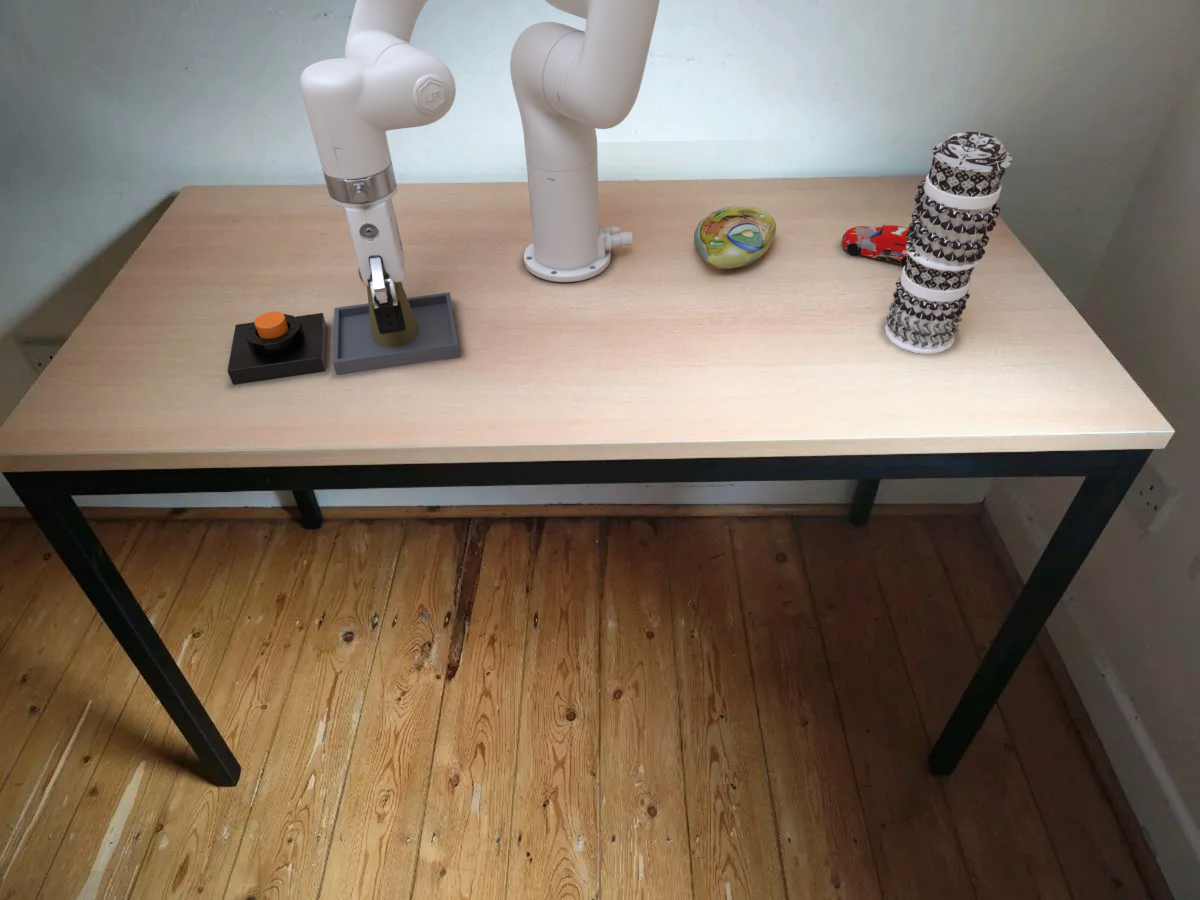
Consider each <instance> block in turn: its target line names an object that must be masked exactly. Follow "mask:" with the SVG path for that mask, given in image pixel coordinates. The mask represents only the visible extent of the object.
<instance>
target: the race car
mask: <svg viewBox="0 0 1200 900" xmlns="http://www.w3.org/2000/svg"><path fill="white" fill-rule="evenodd" d="M910 232H911V231H910V230H909V227H906V226H905V227H904V226H900V225H894V224H888V225H887V224H883V225H882V226H866V225H862V226H859V225H858V226H853V227H851V228H848V229H847V230H846V231H845V232H844V234H843V235H842V237H841V246H842V248H843V249H844V250H845V251H847V253H849V255H850V256H853V257H856V256H859V255H861V256H864V257H867V258H868V257H869V258H873V259H876V260H881V261H885V262H889V263H894V264H897V265H902V266H903V267H904V266H905V264H906V260H907V256H908V254H907V249H906V241H907V240H909V233H910Z"/></svg>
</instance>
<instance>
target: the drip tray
mask: <svg viewBox="0 0 1200 900" xmlns="http://www.w3.org/2000/svg"><path fill="white" fill-rule="evenodd" d="M407 299H408V302H409V304H410V307H411V310H412V312H413V315H414V318H415V320H416V323H417V326H418V329H419V333H418V336H417V337H416V338H415V339H414V340H413V341H411V342H409V343H408V344H405V345H402V346H397V347H384V346H380V345H378V344H376V343H375V342H374V341H373V340H372V334H371V324H370V314H369V304H368V303H360V304H354V305H346V306H337V307H334V309H333V310H334V311H333V313H334V314H333V346H332V347H333V349H332V364H333V368H334V370H335V374H336V376H340V375H347V374H353V373H355V374H356V373H360V372H368V371H374V370H382V369H388V368H394V367H401V366H409V365H415V364H423V363H429V362H435V361H442V360H448V359H449V360H450V359H456V358H457V359H458V358H461V353H460V347H459V346H460V345H459V340H458V334H457V333H458V332H457V327H456V322H455V315H454V314H455V313H454V308H453V302H452V297H451V292H450V291H449V292H448V291H447V292H442V293H433V294H426V295H419V296H412V297H407Z"/></svg>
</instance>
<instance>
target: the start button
mask: <svg viewBox="0 0 1200 900" xmlns="http://www.w3.org/2000/svg"><path fill="white" fill-rule="evenodd" d="M283 314H284V313H282V312H280V311H268V312H267V311H266V312H264V313H262V314H259V316H257V317H256V318H255V319H254V321H255V326H256V329H257V332H258V334H259V336H260V337H261V338H265V339H270V338H277V337H279V336H281V335H283V334H285V333H286V332H287V331H288V329H289V328H288V325H287V322H286V319H285V316H284V315H283Z"/></svg>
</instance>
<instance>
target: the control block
mask: <svg viewBox="0 0 1200 900" xmlns="http://www.w3.org/2000/svg"><path fill="white" fill-rule="evenodd" d="M282 314H283V315H284V316H285V319H286V322H287V325H288V328H289V329H288V331H287V332H286V333H285V334H283V335H281V336H279V337H277V338H270V339H265V338H261V337H260V336H259V334H258V332H257V329H256V326H255V320H254V321H252V322H245V323H238V324H235V325H234V331H233V337H232V344H231V349H230V355H229V360H228V365H227V371H226V372H227V374H228V376H229V379H230V381H231V383H232V385H233V386H235V385H241V384H249V383H255V382H263V381H269V380H276V379H283V378H290V377H297V376H305V375H309V374H317V373H325V372H326V363H327V362H326V359H327V335H328V332H327V331H328V325H327V322H326V318H325V315H324V313H323V312H319V313H312V314H304V315H296V316H295V315H294V314H293V315H292V314H287V313H282Z"/></svg>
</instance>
